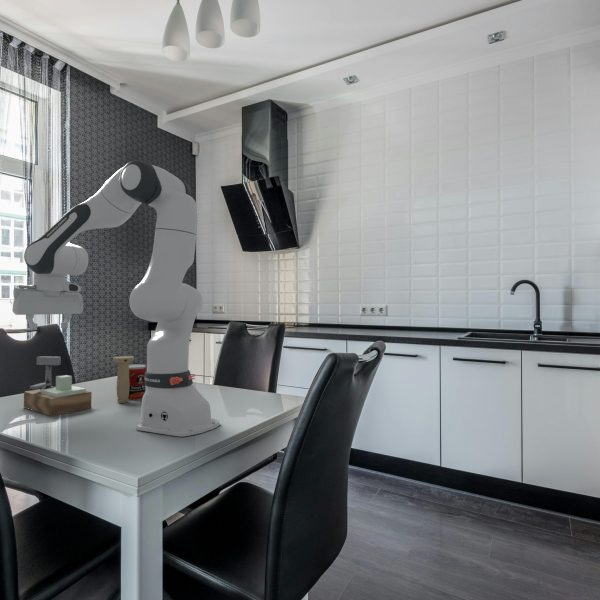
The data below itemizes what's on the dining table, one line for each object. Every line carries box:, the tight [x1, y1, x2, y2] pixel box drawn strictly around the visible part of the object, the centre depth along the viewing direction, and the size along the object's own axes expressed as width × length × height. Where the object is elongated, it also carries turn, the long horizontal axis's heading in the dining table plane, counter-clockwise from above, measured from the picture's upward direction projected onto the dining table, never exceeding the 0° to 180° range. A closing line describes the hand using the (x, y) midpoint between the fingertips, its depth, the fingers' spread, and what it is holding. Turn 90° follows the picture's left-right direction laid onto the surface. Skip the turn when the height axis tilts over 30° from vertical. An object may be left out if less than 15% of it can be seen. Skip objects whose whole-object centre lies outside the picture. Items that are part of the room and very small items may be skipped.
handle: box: [112, 355, 135, 404], centre depth 139 cm, size 5×6×15 cm
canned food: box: [128, 363, 147, 400], centre depth 147 cm, size 8×8×11 cm
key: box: [29, 355, 62, 390], centre depth 132 cm, size 8×7×10 cm
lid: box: [41, 374, 87, 398], centre depth 129 cm, size 9×9×5 cm
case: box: [23, 386, 92, 417], centre depth 131 cm, size 17×12×5 cm
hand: (49, 328), depth 134 cm, fingers open, 8 cm apart
